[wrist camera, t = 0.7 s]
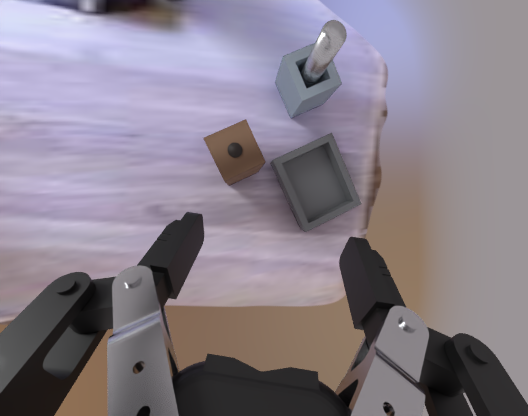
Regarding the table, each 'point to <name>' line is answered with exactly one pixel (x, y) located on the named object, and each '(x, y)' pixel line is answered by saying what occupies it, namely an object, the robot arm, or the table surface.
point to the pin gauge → (323, 52)
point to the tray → (316, 182)
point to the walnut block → (235, 152)
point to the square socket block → (294, 86)
